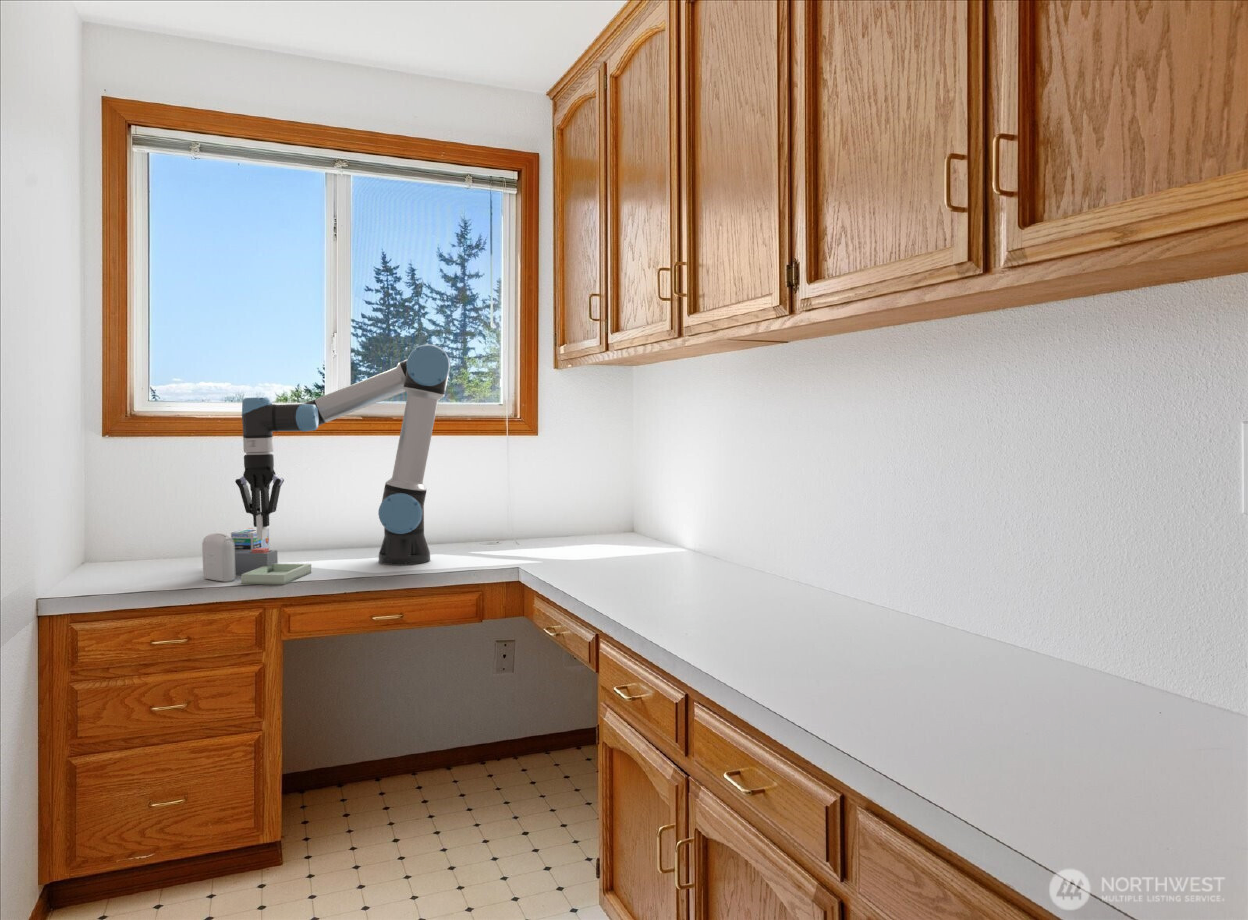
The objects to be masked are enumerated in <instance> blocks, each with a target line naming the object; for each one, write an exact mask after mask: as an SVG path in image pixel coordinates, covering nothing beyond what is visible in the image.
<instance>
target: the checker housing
mask: <svg viewBox="0 0 1248 920" xmlns="http://www.w3.org/2000/svg"><path fill="white" fill-rule="evenodd" d="M275 563H278V549H277V550H276V549H274V550H273V549H269V552H267V553H252V550H235V571H236V576H241V574H244V573H246V572H249V571H252V570H255V569H257V568H260V567H263V566H267V568H268V567H269V566H270V565H272V564H275ZM272 566H273V565H272ZM270 568H271V566H270ZM269 570H271V571H269ZM268 571H269V572H268ZM272 571H274V570H272V569H267V573H270V572H272Z"/></svg>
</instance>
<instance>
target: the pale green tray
mask: <svg viewBox="0 0 1248 920" xmlns="http://www.w3.org/2000/svg"><path fill="white" fill-rule="evenodd" d="M272 565H273V566H272ZM272 565H270V566H271V568H270V566H269V567H268V568H267V566H263V567H260V568H257V569H255V570H252V571H249V572H246V573H244V574H241V575H240V576H241V584H242V585H283V586H284V585H287V584H289V583H292V582H293V581H296V580H298V579H300V578H303V577H305V576H307V575H309V574H311V573H312V564H311V563H275V564H272ZM267 569H272V570H274V571H272V572H270V573H267ZM269 571H271V570H269ZM269 571H268V572H269Z"/></svg>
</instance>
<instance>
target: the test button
mask: <svg viewBox="0 0 1248 920" xmlns="http://www.w3.org/2000/svg"><path fill="white" fill-rule="evenodd" d="M269 550H270V547H269V548H255V549H252V553H267V552H269Z"/></svg>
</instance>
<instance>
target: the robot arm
mask: <svg viewBox="0 0 1248 920" xmlns="http://www.w3.org/2000/svg"><path fill="white" fill-rule="evenodd" d="M450 372H451V359H450V357H449V355H448V354H447V352H446V350H444V349H443V348H442V347H440V346H439V345H435V344H428V343H427V344H421V345H418V346H416V347H415V348H413V350H411V352H410V353H409V355H408V357H407V359H405V360H402V361H400V362H398V363H397V366H396V367H394V368H391V369H388V370H387V371H386V370H385V371H384V372H382V373H378V374H375V375H374V376H371V377H369V378H368V377H367V378H366V379H364V380H361V381H359V382H355V383H353V384H351V385H348V386H345V387H343V388H340V389H337V390H335V391H333V392H332V391H331V392H330V393H328V394H325V395H322V396H320V397H318V398H315V399H312V400H309V401H307V402H304V403H291V404H290V403H289V404H286V403H285V404H274V403H273V402H272V399H271V398H270V397H246V398H243V400H242V401H241V403H242V404H241V406H242V408H241V420H242V421H241V422H242V441H243V445H242V446H243V453H244V454H245V455H244V456H243V467H244V471H243V475H242V476H241V477H240V478H236V479H235V484H236V485H237V487H238V488H239V492H240V495H241V499H242V503H243V506H244V511H245V513H246V514H249V515H252V518H253V520H252V521H253V523H252V524H253V528H257V539H265V538H267V528H268V527H269V526H270V514H272V513H275V512H277V507H278V502H279V497H280V491H281V487H282V485H283V483H284V482H285V479H284V478H283V477H279V476H277V475H276V471H275V469H274V467H275V462H274V454H273V453H272V452H274V442H273V441H274V440H273V432H276V433H277V432H278V433H279V432H309V431H310V432H312V431H317V429H318V427H320V426H321V425H324V424H325V423H329V422H331V421H334V420H336V419H338V418H341V417H344V416H347V415H350V414H351V413H354V412H356V411H359V410H361V409H364V408H366V407H370V406H372V405H374V404H377V403H380V402H382V401H385V400H387V399H389V398H390V399H391V398H392V397H395V396H398V395H400V394H402V393H405V392H406V395H407V396H406V402H405V407H404V413H403V418H402V423H401V429H400V434H399V439H398V443H397V451H396V453H395V461H394V464H393V465H394V466H393V471H392V477H391V478H389V479H388V480H387V481H385V484H384V488H383V492H382V493H383V494H382V498H381V499H382V500H381V503H380V505H379V508H378V519H379V521H380V524H381V525H382V526H383V531H384V532H383V533H384V534H383V535H384V536H383V539H382V542H381V546H380V548H379V552H378V563H380V564H383V565H391V566H392V565H397V566H398V565H399V566H400V565H402V566H403V565H404V566H405V565H416V564H422V563H427V562H429V561H431V551H430V548H429V546H428V542H427V539H426V536H425V501H426V496H427V489H428V488H426V486H425V485H424V476H425V472H426V467H427V460H428V455H429V450H430V445H431V441H432V436H433V430H434V429H433V428H434V425H435V419H436V415H437V414H436V413H437V408H438V403H439V401H440V400H442V399H443V398H444V397H445V395H446V390H447V385H448V379H449V375H450ZM247 483H248V484H249V486H248V484H247ZM271 484H273V485H272V487H271V492H270V485H271ZM249 488H250V489H249ZM250 492H251V493H250Z"/></svg>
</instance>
